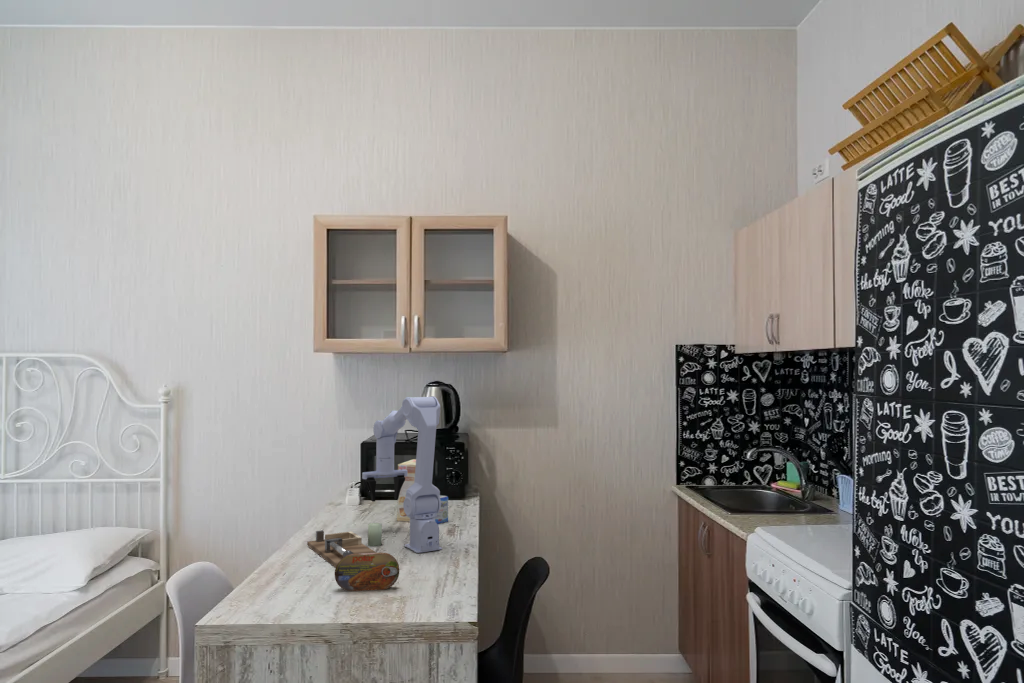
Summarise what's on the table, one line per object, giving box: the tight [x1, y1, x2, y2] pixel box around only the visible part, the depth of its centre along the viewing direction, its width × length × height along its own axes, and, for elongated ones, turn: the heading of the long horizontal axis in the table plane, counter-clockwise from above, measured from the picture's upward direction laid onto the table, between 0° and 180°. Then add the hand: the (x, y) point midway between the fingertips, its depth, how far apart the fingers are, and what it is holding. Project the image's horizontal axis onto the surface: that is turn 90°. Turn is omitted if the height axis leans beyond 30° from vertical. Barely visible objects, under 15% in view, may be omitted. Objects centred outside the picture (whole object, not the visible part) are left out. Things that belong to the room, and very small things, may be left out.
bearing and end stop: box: [315, 529, 342, 553], centre depth 200 cm, size 14×4×3 cm, turn 32°
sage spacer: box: [367, 522, 383, 547], centre depth 207 cm, size 4×4×6 cm
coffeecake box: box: [396, 458, 416, 523], centre depth 246 cm, size 15×7×20 cm, turn 168°
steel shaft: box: [330, 542, 354, 558], centre depth 190 cm, size 16×3×3 cm, turn 32°
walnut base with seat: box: [306, 530, 378, 568], centre depth 197 cm, size 29×13×3 cm, turn 32°
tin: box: [334, 552, 400, 592], centre depth 166 cm, size 15×3×8 cm, turn 98°
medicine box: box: [434, 495, 449, 525], centre depth 237 cm, size 8×4×9 cm, turn 143°
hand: (384, 500), depth 224 cm, fingers open, 7 cm apart
